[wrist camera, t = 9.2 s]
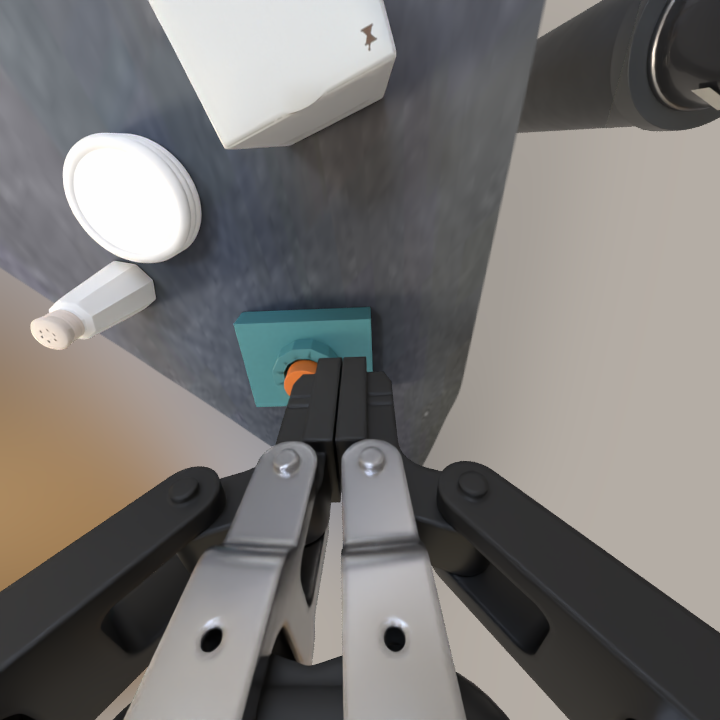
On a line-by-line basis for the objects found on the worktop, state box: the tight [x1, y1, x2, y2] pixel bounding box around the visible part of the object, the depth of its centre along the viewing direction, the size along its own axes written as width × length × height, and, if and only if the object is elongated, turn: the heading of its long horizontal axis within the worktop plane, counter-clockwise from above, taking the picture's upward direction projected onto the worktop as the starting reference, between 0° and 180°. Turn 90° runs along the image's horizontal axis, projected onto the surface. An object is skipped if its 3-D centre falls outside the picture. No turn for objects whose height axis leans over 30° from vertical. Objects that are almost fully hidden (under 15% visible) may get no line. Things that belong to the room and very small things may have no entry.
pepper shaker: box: [31, 261, 156, 350], centre depth 31 cm, size 5×5×11 cm
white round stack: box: [63, 133, 202, 263], centre depth 30 cm, size 10×10×4 cm
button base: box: [234, 307, 373, 407], centre depth 38 cm, size 14×11×5 cm
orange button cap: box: [284, 360, 318, 396], centre depth 35 cm, size 4×4×2 cm
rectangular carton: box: [148, 0, 396, 149], centre depth 19 cm, size 9×9×15 cm
